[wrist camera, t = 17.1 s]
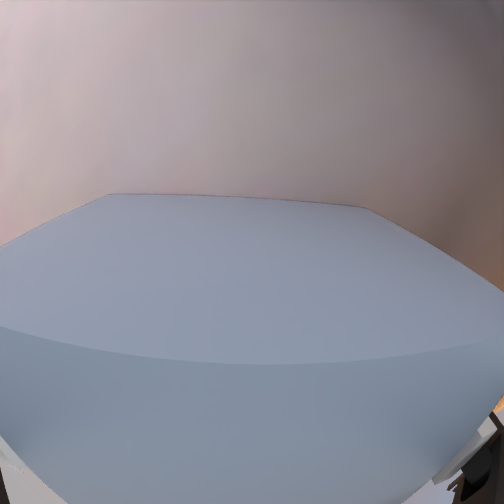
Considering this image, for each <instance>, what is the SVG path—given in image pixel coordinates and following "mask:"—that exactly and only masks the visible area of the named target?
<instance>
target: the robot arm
mask: <svg viewBox="0 0 504 504" xmlns="http://www.w3.org/2000/svg"><path fill="white" fill-rule="evenodd" d="M0 458H1V459H2V460H3V461H4V462H5V463H6V464H7V465H9V466H11V467H12V468H14V469H16V470H18V471H20V472H21V473H23V472H24V469H25V467H26V464H25V463H24V462H23V461H22V460H21V459H20V458H19V457H18V456H17V454H16V453H15V452H14V451H13V450H12V449H11V448H10V447H9V445H8V444H7V443H6V442H5V441H4V439H3V438H2V437H1V436H0ZM460 469H461V470H462V472H463V473H462V474H461V475H460V476H459V477H458V478H457V479H456V480H454V481H453V482H452V483H451V484H450V485H449V486H448V489H447V490H448V491H449V490H450V489H452V488H453V487H454V486H455V485H456V484H457V487H455V488H454V490H453V492H455V496H454V499H453V503H452V504H504V426H503V425H502V424H501V422H500V421H499V419H498V418H497V417H496V415H495V414H494V412H493V411H492V412H491V413H490V414H489V416H488V417H487V418H486V420H485V421H484V422H483V423H482V425H481V426H480V427H479V428H478V430H477V431H476V432H475V433H474V434H473V436H472V437H471V438H470V439H469V440H468V441H467V443H466V444H465V445H464V446H463V447H462V448H461V449H460V450H459V451H458V453H457V454H456V455H455V456H454V457H453V458H452V459H451V460H450V461H449V462H448V463H447V464H446V465H445V466H444V467H443V468H442V469H441V470H440V471H439V472H438V473H437V474H436V475H434V476H433V477H432V480H433V483H434V485H436V484H438V483H440V482H443V481H445V480H447V479H449V478H451V477H452V476H453V475H454V474H455V473H456V472H458V471H459V470H460ZM0 504H10V503H9V499H8V496H7V492H6V489H5V485H4V482H3V477H2V473H1V469H0Z"/></svg>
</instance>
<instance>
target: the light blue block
mask: <svg viewBox="0 0 504 504" xmlns="http://www.w3.org/2000/svg"><path fill="white" fill-rule="evenodd" d="M503 395H504V292H503V291H501V290H500V289H499V288H497V287H496V286H494V285H493V284H492V283H490V282H489V281H487V280H486V279H484V278H483V277H481V276H480V275H478V274H477V273H475V272H474V271H472V270H471V269H469V268H468V267H466V266H465V265H463V264H462V263H460V262H459V261H457V260H456V259H454V258H452V257H451V256H449V255H448V254H446V253H444V252H443V251H441V250H439V249H438V248H436V247H434V246H433V245H431V244H429V243H428V242H426V241H424V240H423V239H421V238H419V237H418V236H416V235H414V234H412V233H411V232H409V231H407V230H405V229H403V228H402V227H400V226H398V225H396V224H394V223H393V222H391V221H389V220H387V219H385V218H383V217H381V216H380V215H378V214H376V213H374V212H372V211H370V210H368V209H366V208H364V207H355V206H346V205H336V204H326V203H315V202H304V201H292V200H278V199H264V198H248V197H229V196H206V195H171V194H109V195H107V196H104V197H102V198H99V199H97V200H95V201H92V202H90V203H88V204H85V205H83V206H81V207H79V208H76V209H74V210H72V211H70V212H68V213H65V214H63V215H61V216H59V217H57V218H55V219H53V220H51V221H49V222H47V223H45V224H43V225H41V226H39V227H37V228H35V229H33V230H31V231H29V232H27V233H25V234H23V235H21V236H19V237H18V238H16V239H14V240H12V241H10V242H9V243H7V244H5V245H3V246H1V247H0V436H1V437H2V438H3V439H4V441H5V442H6V443H7V444H8V445H9V447H10V448H11V449H12V450H13V451H14V452H15V453H16V454H17V456H18V457H19V458H20V459H21V460H22V461H23V462H24V463H25V464H26V465H27V466H28V467H29V468H30V469H31V470H32V471H33V472H34V473H35V474H36V475H37V476H38V477H39V478H40V479H41V480H42V481H43V482H44V483H45V484H46V485H47V486H48V487H49V488H50V489H52V490H53V491H54V492H55V493H56V494H57V495H58V496H60V497H61V498H62V499H63V500H64V501H66V502H67V503H68V504H401V503H403V502H404V501H405V500H407V499H408V498H409V497H410V496H412V495H413V494H414V493H415V492H416V491H418V490H419V489H420V488H421V487H422V486H423V485H425V484H426V483H427V482H428V481H429V480H430V479H431V478H432V477H433V476H434V475H436V474H437V473H438V472H439V471H440V470H441V469H442V468H443V467H444V466H445V465H446V464H447V463H448V462H449V461H450V460H451V459H452V458H453V457H454V456H455V455H456V454H457V453H458V451H459V450H460V449H461V448H462V447H463V446H464V445H465V444H466V443H467V441H468V440H469V439H470V438H471V437H472V436H473V434H474V433H475V432H476V431H477V430H478V428H479V427H480V426H481V425H482V423H483V422H484V421H485V420H486V418H487V417H488V416H489V414H490V413H491V412H492V410H493V409H494V408H495V406H496V405H497V403H498V402H499V401H500V399H501V398H502V396H503Z"/></svg>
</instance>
